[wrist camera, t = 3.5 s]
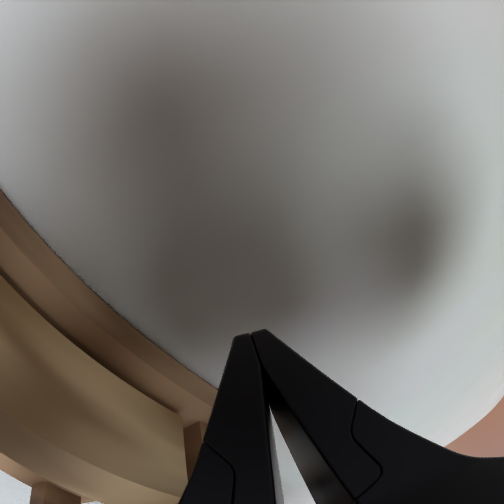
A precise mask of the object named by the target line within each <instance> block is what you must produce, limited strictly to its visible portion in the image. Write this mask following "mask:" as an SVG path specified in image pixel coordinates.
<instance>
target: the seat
mask: <svg viewBox="0 0 504 504" xmlns="http://www.w3.org/2000/svg"><path fill="white" fill-rule="evenodd" d="M0 275H1V276H2V277H3V278H4V279H5V280H6V281H7V282H8V283H9V284H10V285H11V287H12V288H13V289H14V290H15V291H16V292H17V293H18V294H19V295H20V296H21V297H22V298H23V299H24V300H25V301H26V302H27V303H28V304H29V305H30V306H31V307H33V308H34V309H35V310H36V311H37V312H38V313H39V314H40V315H41V316H42V317H43V318H44V319H45V320H47V321H48V322H49V323H50V324H51V325H52V326H53V327H54V328H56V329H57V330H58V331H59V332H60V333H61V334H63V335H64V336H65V337H66V338H67V339H68V340H70V341H71V342H72V343H73V344H75V345H76V346H77V347H78V348H80V349H81V350H82V351H83V352H85V353H86V354H87V355H88V356H90V357H91V358H92V359H94V360H95V361H96V362H98V363H99V364H100V365H102V366H103V367H105V368H106V369H107V370H109V371H110V372H111V373H113V374H114V375H116V376H117V377H119V378H120V379H121V380H123V381H124V382H126V383H127V384H129V385H130V386H132V387H133V388H135V389H136V390H138V391H140V392H141V393H143V394H144V395H146V396H147V397H149V398H151V399H152V400H154V401H156V402H157V403H159V404H160V405H162V406H164V407H166V408H167V409H169V410H171V411H172V412H174V413H176V414H178V415H180V416H181V417H182V422H183V436H184V448H185V459H186V469H187V478H188V481H189V479H190V476H191V474H192V471H193V468H194V465H195V462H196V459H197V457H198V453H199V450H200V447H201V444H202V443H204V442H203V438H204V434H205V431H206V428H207V425H208V421H209V418H210V415H211V412H212V408H213V405H214V402H215V399H216V395H217V392H218V390H217V389H216V388H214V387H213V386H211V385H210V384H208V383H207V382H205V381H204V380H203V379H201V378H200V377H198V376H197V375H195V374H194V373H193V372H191V371H190V370H188V369H187V368H186V367H184V366H183V365H181V364H180V363H179V362H177V361H176V360H175V359H173V358H172V357H171V356H169V355H168V354H167V353H165V352H164V351H163V350H162V349H160V348H159V347H158V346H156V345H155V344H154V343H153V342H151V341H150V340H149V339H148V338H146V337H145V336H144V335H143V334H141V333H140V332H139V331H138V330H137V329H135V328H134V327H133V326H132V325H131V324H129V323H128V322H127V321H126V320H125V319H123V318H122V317H121V316H120V315H119V314H118V313H117V312H115V311H114V310H113V309H112V308H111V307H110V306H109V305H107V304H106V303H105V302H104V301H103V300H102V299H101V298H100V297H99V296H98V295H97V294H95V293H94V292H93V291H92V290H91V289H90V288H89V287H88V286H87V285H86V284H85V283H84V282H83V281H82V280H81V279H80V278H79V277H78V276H77V275H76V274H75V273H74V272H73V271H72V270H71V269H70V268H69V267H68V266H67V265H66V264H65V263H64V262H63V261H62V260H61V259H60V258H59V257H58V256H57V255H56V254H55V253H54V252H53V251H52V250H51V249H50V248H49V247H48V246H47V244H46V243H45V242H44V241H43V240H42V239H41V238H40V237H39V236H38V235H37V233H36V232H35V231H34V230H33V229H32V228H31V227H30V225H29V224H28V223H27V222H26V221H25V220H24V218H23V217H22V216H21V215H20V214H19V212H18V211H17V210H16V209H15V208H14V206H13V205H12V204H11V203H10V201H9V200H8V199H7V198H6V196H5V195H4V194H3V192H2V191H1V190H0ZM0 470H2V471H4V472H5V473H7V474H9V475H10V476H12V477H14V478H16V479H17V480H19V481H21V482H23V483H25V484H27V485H28V486H30V487H32V491H31V498H30V504H81V503H86V502H93V501H95V500H93V499H90V498H88V497H85V496H83V495H80V494H78V493H76V492H73V491H71V490H69V489H66V488H64V487H62V486H60V485H58V484H56V483H54V482H52V481H50V480H48V479H46V478H44V477H42V476H40V475H38V474H36V473H34V472H32V471H30V470H29V469H27V468H25V467H23V466H22V465H20V464H18V463H17V462H15V461H13V460H12V459H10V458H8V457H7V456H5V455H4V454H2V453H1V452H0ZM177 504H178V503H177Z"/></svg>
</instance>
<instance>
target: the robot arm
mask: <svg viewBox="0 0 504 504" xmlns="http://www.w3.org/2000/svg"><path fill="white" fill-rule="evenodd" d="M269 406H270V408H269ZM270 409H271V411H272V414H273V416H274V418H275V421H276V423H277V425H278V427H279V429H280V431H281V434H282V436H283V438H284V440H285V442H286V444H287V446H288V448H289V450H290V453H291V455H292V457H293V459H294V461H295V463H296V465H297V467H298V469H299V471H300V473H301V475H302V477H303V479H304V481H305V483H306V485H307V487H308V489H309V491H310V493H311V495H312V497H313V499H314V501H315V503H316V504H504V457H485V458H484V457H472V456H467V455H462V454H459V453H456V452H454V451H451V450H449V449H447V448H444V447H442V446H440V445H438V444H436V443H434V442H431V441H429V440H427V439H425V438H423V437H421V436H419V435H417V434H415V433H413V432H411V431H409V430H407V429H405V428H403V427H401V426H399V425H398V424H396V423H394V422H392V421H390V420H388V419H387V418H385V417H384V416H382V415H381V414H379V413H378V412H376V411H375V410H373V409H372V408H370V407H369V406H367V405H366V404H365V403H363V402H362V401H361V400H358V401H357V398H356V397H355V396H353V395H352V394H351V393H349V392H348V391H346V390H345V389H344V388H342V387H341V386H340V385H338V384H337V383H336V382H334V381H333V380H332V379H330V378H329V377H328V376H326V375H325V374H324V373H322V372H321V371H320V370H318V369H317V368H316V367H314V366H313V365H312V364H310V363H309V362H308V361H306V360H305V359H304V358H303V357H301V356H300V355H299V354H297V353H296V352H295V351H294V350H292V349H291V348H290V347H288V346H287V345H286V344H285V343H283V342H282V341H281V340H280V339H278V338H277V337H276V336H274V335H273V334H272V333H271V332H269V331H268V330H267V329H262V330H258V331H254V332H252V333H251V335H250V334H249V333H246V334H242V335H238V336H235V337H234V339H233V342H232V346H231V349H230V352H229V356H228V359H227V362H226V366H225V369H224V372H223V375H222V379H221V382H220V385H219V389H218V392H217V395H216V399H215V402H214V405H213V408H212V412H211V415H210V418H209V421H208V425H207V428H206V431H205V434H204V438H203V442H204V443H202V444H201V447H200V450H199V453H198V457H197V459H196V462H195V465H194V468H193V471H192V474H191V476H190V479H189V481H188V483H187V485H186V488H185V490H184V492H183V494H182V496H181V498H180V500H179V502H178V504H284V499H283V492H282V486H281V479H280V472H279V466H278V459H277V452H276V446H275V439H274V432H273V425H272V419H271V413H270Z"/></svg>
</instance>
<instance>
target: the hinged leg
mask: <svg viewBox="0 0 504 504" xmlns="http://www.w3.org/2000/svg"><path fill="white" fill-rule="evenodd" d="M0 452H1V453H2V454H4V455H5V456H7V457H8V458H10V459H12V460H13V461H15V462H17V463H18V464H20V465H22V466H23V467H25V468H27V469H29V470H30V471H32V472H34V473H36V474H38V475H40V476H42V477H44V478H46V479H48V480H50V481H52V482H54V483H56V484H58V485H60V486H62V487H64V488H66V489H69V490H71V491H73V492H76V493H78V494H80V495H83V496H85V497H88V498H90V499H93V500H95V501H98V502H101V503H104V504H177V503H178V502H179V500H180V498H181V496H182V494H183V492H184V490H185V488H186V485H187V483H188V478H187V469H186V459H185V448H184V436H183V422H182V417H181V416H180V415H178V414H176V413H174V412H172V411H171V410H169V409H167V408H166V407H164V406H162V405H160V404H159V403H157V402H156V401H154V400H152V399H151V398H149V397H147V396H146V395H144V394H143V393H141V392H140V391H138V390H136V389H135V388H133V387H132V386H130V385H129V384H127V383H126V382H124V381H123V380H121V379H120V378H119V377H117V376H116V375H114V374H113V373H111V372H110V371H109V370H107V369H106V368H105V367H103V366H102V365H100V364H99V363H98V362H96V361H95V360H94V359H92V358H91V357H90V356H88V355H87V354H86V353H85V352H83V351H82V350H81V349H80V348H78V347H77V346H76V345H75V344H73V343H72V342H71V341H70V340H68V339H67V338H66V337H65V336H64V335H63V334H61V333H60V332H59V331H58V330H57V329H56V328H54V327H53V326H52V325H51V324H50V323H49V322H48V321H47V320H45V319H44V318H43V317H42V316H41V315H40V314H39V313H38V312H37V311H36V310H35V309H34V308H33V307H31V306H30V305H29V304H28V303H27V302H26V301H25V300H24V299H23V298H22V297H21V296H20V295H19V294H18V293H17V292H16V291H15V290H14V289H13V288H12V287H11V285H10V284H9V283H8V282H7V281H6V280H5V279H4V278H3V277H2V276H1V275H0Z"/></svg>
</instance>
